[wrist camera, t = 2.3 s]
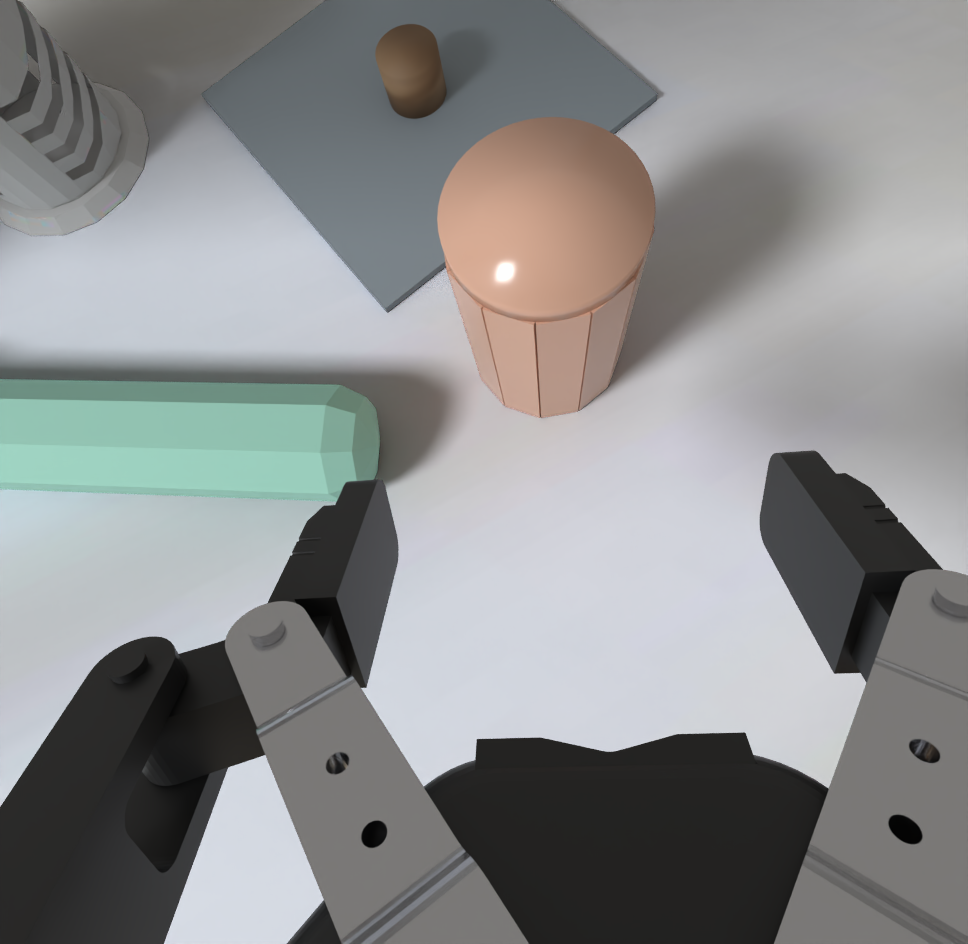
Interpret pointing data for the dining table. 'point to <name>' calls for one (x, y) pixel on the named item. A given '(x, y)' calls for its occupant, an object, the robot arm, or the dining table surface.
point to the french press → (60, 135)
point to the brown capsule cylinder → (411, 70)
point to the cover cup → (546, 257)
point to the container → (186, 438)
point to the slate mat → (403, 141)
